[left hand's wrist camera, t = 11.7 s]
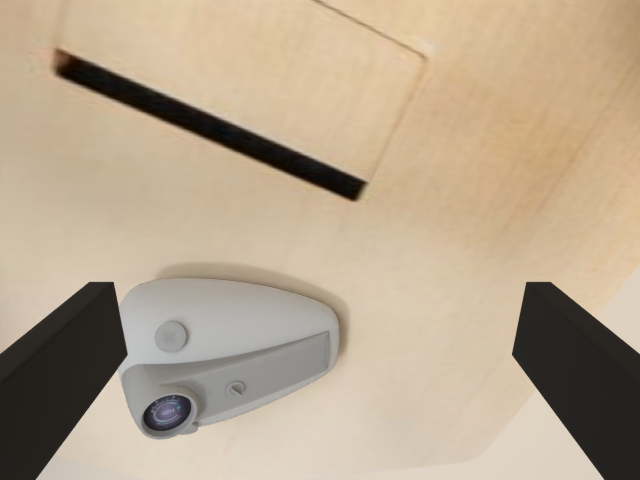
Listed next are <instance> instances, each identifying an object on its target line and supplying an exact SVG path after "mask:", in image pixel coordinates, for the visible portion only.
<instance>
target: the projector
mask: <svg viewBox="0 0 640 480" xmlns="http://www.w3.org/2000/svg"><path fill="white" fill-rule="evenodd" d="M119 312H120V317H121V322H122V327H123V332H124V337H125V342H126V347H127V352H128V356H127V357H126V358H125V360H124V361H123V362H122V364H121V365H120V366H119V368H118V372H119V377H120V381H121V385H122V388H123V391H124V394H125V397H126V400H127V404H128V407H129V410H130V412H131V415H132V417H133V419H134V421H135V423H136V424H137V426H138V427H139V429H140V430H141V432H142V433H143V434H144V435H146V436H147V437H149V438H153V439H168V438H171V437H174V436H177V435H179V434H191V433H194V432H196V431H197V430H198V427H201V426H205V425H210V424H214V423H217V422H221V421H224V420H227V419H230V418H233V417H236V416H239V415H242V414H244V413H247V412H250V411H252V410H255V409H257V408H260V407H262V406H264V405H267V404H269V403H271V402H273V401H276V400H278V399H280V398H282V397H284V396H286V395H288V394H290V393H292V392H294V391H296V390H298V389H300V388H302V387H304V386H306V385H308V384H310V383H312V382H314V381H315V380H317V379H319V378H321V377H322V376H324V375H326V374H327V373H328V372H329V371H331V370H332V368H333V367H334V365H335V363H336V360H337V356H338V350H339V324H338V319H337V317H336V315H335V313H334V311H333V310H332V309H331V308H330V307H329V306H327V305H326V304H324V303H321V302H319V301H317V300H314V299H311V298H308V297H305V296H302V295H299V294H295V293H292V292H289V291H285V290H281V289H277V288H272V287H268V286H263V285H258V284H252V283H245V282H238V281H230V280H219V279H204V278H169V279H159V280H153V281H149V282H145V283H142V284H140V285H138V286H136V287H134V288H133V289H132V290H130V291H129V292H128V293H127V295H126V296H125V297H124V299H123V301H122V303H121V305H120V307H119Z"/></svg>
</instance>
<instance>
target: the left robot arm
mask: <svg viewBox="0 0 640 480" xmlns="http://www.w3.org/2000/svg"><path fill="white" fill-rule="evenodd" d="M127 356H128V352H127V347H126V342H125V337H124V332H123V327H122V322H121V317H120V312H119V307H118V302H117V297H116V292H115V287H114V282H89V283H88V284H86V285H85V286H84V287H83V288H81V289H80V290H79V291H78V292H76V293H75V294H74V295H73V296H72V297H70V298H69V299H68V300H67V301H65V302H64V303H63V304H62V305H60V306H59V307H58V308H57V309H55V310H54V311H53V312H52V313H50V314H49V315H48V316H47V317H46V318H44V319H43V320H42V321H41V322H39V323H38V324H37V325H36V326H34V327H33V328H32V329H31V330H29V331H28V332H27V333H26V334H25V335H23V336H22V337H21V338H20V339H18V340H17V341H16V342H15V343H13V344H12V345H11V346H10V347H8V348H7V349H6V350H5V351H4V352H2V353H1V354H0V480H36V478H37V477H38V476H39V474H40V473H41V472H42V470H43V469H44V468H45V466H46V465H47V464H48V462H49V461H50V459H51V458H52V457H53V455H54V454H55V453H56V451H57V450H58V449H59V447H60V446H61V445H62V443H63V442H64V441H65V439H66V438H67V437H68V435H69V434H70V432H71V431H72V430H73V428H74V427H75V426H76V424H77V423H78V422H79V420H80V419H81V418H82V416H83V415H84V414H85V412H86V411H87V410H88V408H89V407H90V405H91V404H92V403H93V401H94V400H95V399H96V397H97V396H98V395H99V393H100V392H101V391H102V389H103V388H104V387H105V385H106V384H107V383H108V381H109V380H110V378H111V377H112V376H113V374H114V373H115V372H116V370H117V369H118V368H119V366H120V365H121V364H122V362H123V361H124V360H125V358H126V357H127ZM512 356H513V357H514V358H515V360H516V361H517V362H518V364H519V365H520V366H521V368H522V369H523V370H524V372H525V373H526V374H527V376H528V377H529V378H530V380H531V381H532V383H533V384H534V385H535V387H536V388H537V389H538V391H539V392H540V393H541V395H542V396H543V397H544V399H545V400H546V401H547V403H548V404H549V405H550V407H551V408H552V410H553V411H554V412H555V414H556V415H557V416H558V418H559V419H560V420H561V422H562V423H563V424H564V426H565V427H566V428H567V430H568V431H569V432H570V434H571V435H572V437H573V438H574V439H575V441H576V442H577V443H578V445H579V446H580V447H581V449H582V450H583V451H584V453H585V454H586V455H587V457H588V458H589V460H590V461H591V462H592V464H593V465H594V466H595V468H596V469H597V470H598V472H599V473H600V474H601V476H602V477H603V478H604V480H640V354H639V353H638V352H636V351H635V350H634V349H633V348H632V347H630V346H629V345H628V344H627V343H625V342H624V341H623V340H622V339H620V338H619V337H618V336H617V335H615V334H614V333H613V332H612V331H611V330H609V329H608V328H607V327H605V326H604V325H603V324H602V323H601V322H599V321H598V320H597V319H596V318H594V317H593V316H592V315H591V314H590V313H588V312H587V311H586V310H585V309H583V308H582V307H581V306H580V305H578V304H577V303H576V302H575V301H573V300H572V299H571V298H570V297H568V296H567V295H566V294H565V293H564V292H562V291H561V290H560V289H559V288H557V287H556V286H555V285H554V284H552V283H551V282H526V287H525V292H524V297H523V302H522V307H521V312H520V317H519V322H518V327H517V332H516V337H515V342H514V347H513V352H512Z"/></svg>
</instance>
